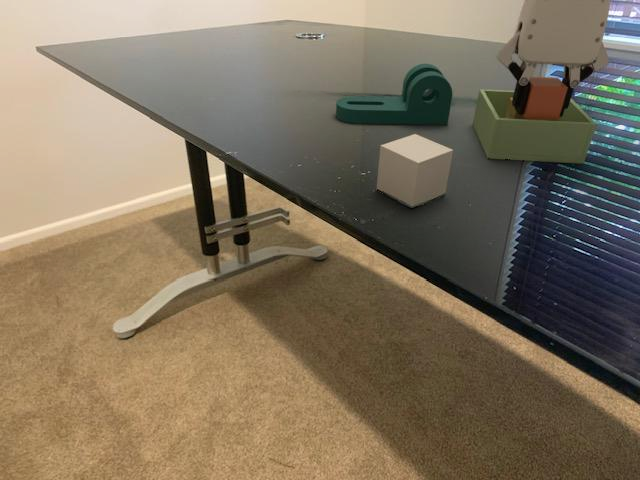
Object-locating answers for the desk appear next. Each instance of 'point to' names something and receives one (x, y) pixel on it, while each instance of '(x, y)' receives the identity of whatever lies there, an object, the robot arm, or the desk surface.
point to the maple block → (515, 113)
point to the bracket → (403, 102)
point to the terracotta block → (545, 98)
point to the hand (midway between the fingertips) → (537, 111)
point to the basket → (531, 132)
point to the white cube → (414, 169)
